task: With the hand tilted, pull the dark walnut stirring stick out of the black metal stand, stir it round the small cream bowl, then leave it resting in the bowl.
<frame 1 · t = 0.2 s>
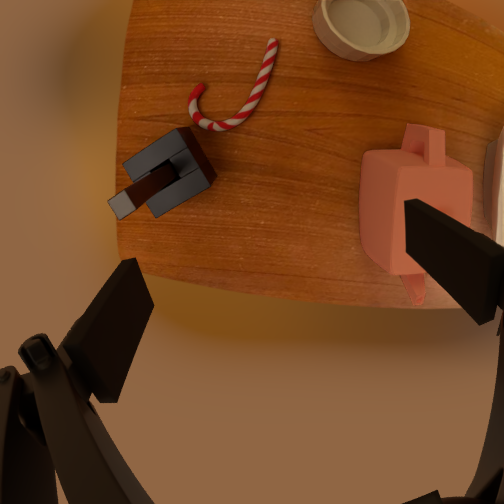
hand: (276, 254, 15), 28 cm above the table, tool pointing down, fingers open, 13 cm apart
mixing bowl: (351, 25, 33), on the table
candy cane: (237, 81, 36), on the table
teapot: (392, 198, 42), on the table
stick stand: (178, 165, 40), on the table
stick: (157, 179, 31), in the stick stand
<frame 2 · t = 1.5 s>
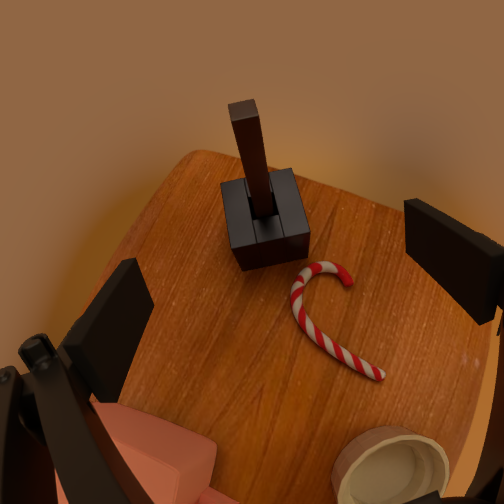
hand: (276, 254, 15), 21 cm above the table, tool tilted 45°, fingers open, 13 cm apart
mixing bowl: (380, 470, 26), on the table
candy cane: (343, 324, 33), on the table
teapot: (154, 458, 30), on the table
stick stand: (268, 234, 38), on the table
stick: (259, 189, 28), in the stick stand
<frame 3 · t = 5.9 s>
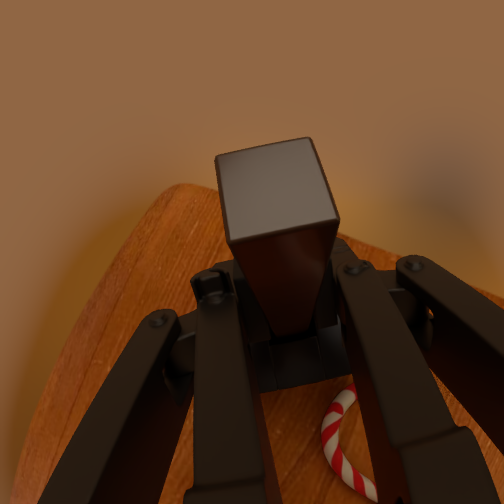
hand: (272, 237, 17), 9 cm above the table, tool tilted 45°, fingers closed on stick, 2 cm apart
candy cane: (391, 458, 19), on the table
stick stand: (290, 332, 24), on the table
stick: (287, 306, 14), in the stick stand, touching gripper
when the fingers open (10 cm above the table, at t = 20.2 s): stick stays where it is, resting on mixing bowl.
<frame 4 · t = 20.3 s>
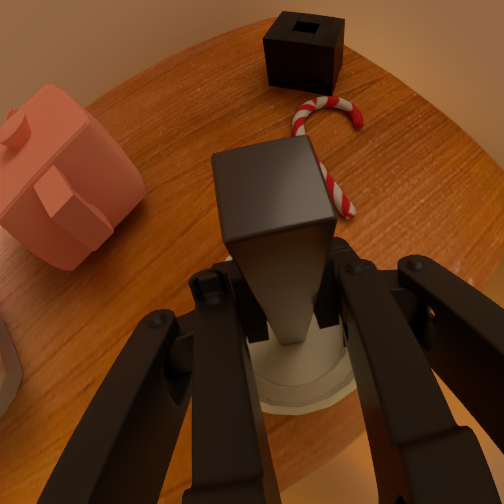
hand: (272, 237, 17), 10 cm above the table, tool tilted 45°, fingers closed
mixing bowl: (292, 333, 24), on the table
candy cane: (336, 154, 30), on the table
teapot: (88, 203, 32), on the table
stick stand: (307, 72, 35), on the table
stick: (287, 307, 14), in the mixing bowl, point 11 cm above the table
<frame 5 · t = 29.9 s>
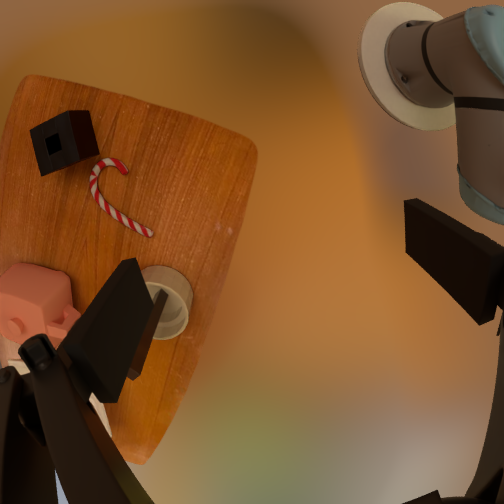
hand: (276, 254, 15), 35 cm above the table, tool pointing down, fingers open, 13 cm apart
mixing bowl: (162, 292, 55), on the table
candy cane: (125, 198, 48), on the table
bowl: (73, 376, 64), on the table
teapot: (47, 287, 54), on the table
stick stand: (75, 139, 44), on the table
stick: (148, 328, 45), in the mixing bowl, point 11 cm above the table
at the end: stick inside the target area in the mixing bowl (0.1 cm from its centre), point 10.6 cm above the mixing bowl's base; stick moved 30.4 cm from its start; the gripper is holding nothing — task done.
